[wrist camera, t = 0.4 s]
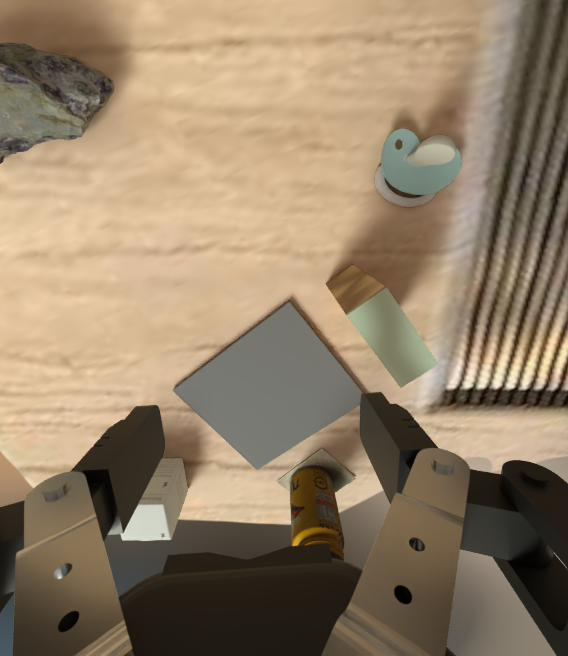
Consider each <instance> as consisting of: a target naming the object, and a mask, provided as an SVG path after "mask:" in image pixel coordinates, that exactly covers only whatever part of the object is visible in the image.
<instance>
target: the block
mask: <svg viewBox="0 0 568 656" xmlns="http://www.w3.org/2000/svg"><path fill="white" fill-rule="evenodd" d="M326 285H327V287H328V288H329V290H330V291H331V293H332V294H333V296H334V297H335V299H336V300H337V302H338V303H339V305H340V306H341V308H342V309H343V311H344V312H345V314H346V315H347V316H348V318H349V319H350V320H351V322H352V323H353V324H354V326H355V327H356V328H357V330H358V331H359V332H360V334H361V335H362V336H363V338H364V339H365V340H366V342H367V343H368V344H369V346H370V347H371V348H372V350H373V351H374V353H375V354H376V355H377V357H378V358H379V359H380V361H381V362H382V363H383V365H384V366H385V367H386V369H387V370H388V371H389V373H390V374H391V375H392V377H393V378H394V379H395V381H396V382H397V383H398V385H399V386H400V387H403V386H405V385H406V384H408V383H409V382H411V381H413V380H414V379H416V378H417V377H419V376H421V375H422V374H424V373H425V372H427V371H429V370H430V369H432V368H433V367H435V366H437V365H438V362H437V361H436V359H435V358H434V356H433V355H432V354H431V352H430V351H429V349H428V348H427V346H426V345H425V343H424V342H423V340H422V339H421V337H420V336H419V334H418V333H417V331H416V330H415V328H414V327H413V325H412V324H411V322H410V321H409V319H408V318H407V316H406V315H405V313H404V312H403V310H402V309H401V308H400V306H399V305H398V303H397V302H396V300H395V299H394V297H393V296H392V294H391V293H390V291H389V290H388V288H387V287H386V286H384V285H383V284H381V283H380V282H378V281H377V280H375V279H374V278H372V277H371V276H369V275H368V274H366V273H365V272H363V271H362V270H360V269H359V268H357V267H356V266H354V265H353V264H352V265H350V266H349V267H348V268H346V269H345V270H344V271H342V272H341V273H340V274H338V275H337V276H336V277H334V278H333V279H332V280H330V281H329V282H328V283H326Z"/></svg>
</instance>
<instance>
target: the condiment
mask: <svg viewBox="0 0 568 656" xmlns="http://www.w3.org/2000/svg"><path fill="white" fill-rule="evenodd" d="M317 464H319V465H317ZM320 464H322V465H320ZM355 479H356V478H355V477H354V476H353V475H352V474H351V473H350V472H349V471H347V470H346V469H345V468H344V467H343V466H342V465H341V464H340V463H338V462H337V460H335V459H334V458H333V457H331V456H330V455H329V454H328V453H327V452H326V451H325V450H323V449H322V448H321V449H320V450H319V451H318V452H316V453H315V454H313V455H312V456H311V457H309V458H308V459H307V460H305V461H304V462H302V463H301V464H299V465H298V466H296V467H295V468H294V469H293V470H291V471H290V472H288V473H287V474H286V475H285V476H283V477H282V478H280V479H279V480H278V481H277V482H278V483H279V484H280V485H282V486H283V487H284V488H286V489H287V490H289V491H290V505H291V526H292V546H299V545H312V544H326V543H329V547H330V552H331V557H332V558H334V559H339V560H342V561H344V553H343V549H344V537H343V533H342V528H341V522H340V518H339V512H338V507H337V502H336V497H335V492H337V491H338V490H339V489H341V488H342V487H343V486H345V485H347V484H349V483H351V482H352V481H353V480H355Z"/></svg>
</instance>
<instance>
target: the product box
mask: <svg viewBox="0 0 568 656" xmlns="http://www.w3.org/2000/svg"><path fill="white" fill-rule="evenodd" d="M187 492H188V487H187V481H186V475H185V469H184V463H183V459H182V458H162V459H161V461H160V463H159V465H158V467H157V469H156V470H155V472H154V474H153V476H152V478H151V480H150V482H149V484H148V486H147V488H146V490H145V492H144V494H143V496H142V498H141V500H140V502H139V504H138V506H137V508H136V510H135V512H134V514H133V516H132V517H131V519H130V521H129V523H128V525H127V527H126V529H125V531H124V533H123V534H121V537H122V540H141V541H150V540H171V538H172V536H173V532H174V530H175V527H176V524H177V521H178V518H179V515H180V512H181V509H182V506H183V504H184V501H185V498H186V495H187Z"/></svg>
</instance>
